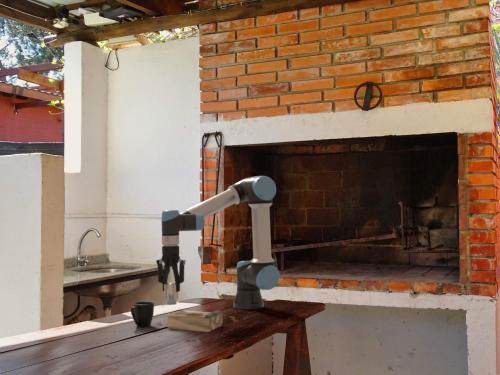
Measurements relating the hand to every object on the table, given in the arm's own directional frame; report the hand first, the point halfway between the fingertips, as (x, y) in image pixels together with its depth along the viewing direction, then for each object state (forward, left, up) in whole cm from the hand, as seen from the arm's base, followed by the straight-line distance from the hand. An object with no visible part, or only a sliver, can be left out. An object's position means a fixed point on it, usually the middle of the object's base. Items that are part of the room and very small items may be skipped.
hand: (171, 298), depth 243 cm
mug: (+16, -5, -10) cm, 20 cm away
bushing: (0, 0, -2) cm, 2 cm away
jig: (+8, +16, -9) cm, 20 cm away
